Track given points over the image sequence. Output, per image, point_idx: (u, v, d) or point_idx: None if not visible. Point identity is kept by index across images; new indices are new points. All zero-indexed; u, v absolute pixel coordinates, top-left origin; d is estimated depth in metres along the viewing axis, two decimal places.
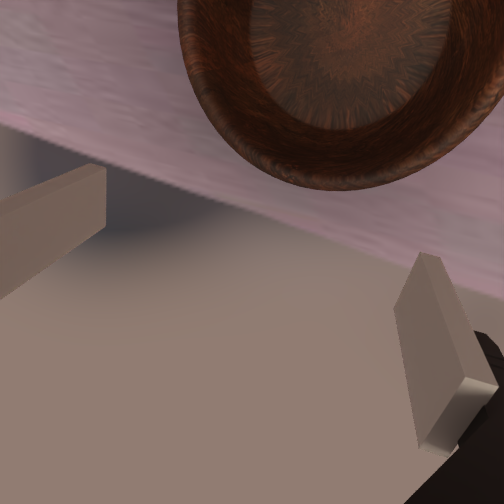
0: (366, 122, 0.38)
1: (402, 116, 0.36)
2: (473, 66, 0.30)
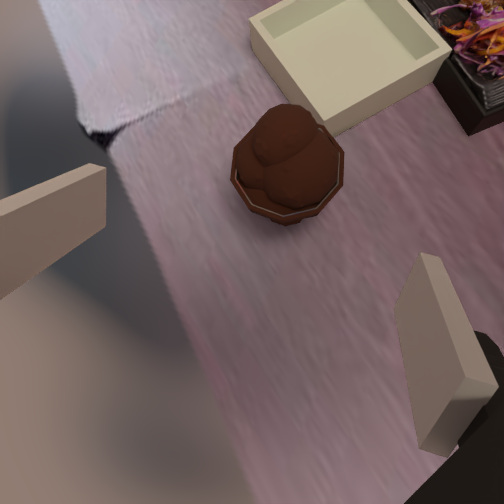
0: None
1: None
2: None
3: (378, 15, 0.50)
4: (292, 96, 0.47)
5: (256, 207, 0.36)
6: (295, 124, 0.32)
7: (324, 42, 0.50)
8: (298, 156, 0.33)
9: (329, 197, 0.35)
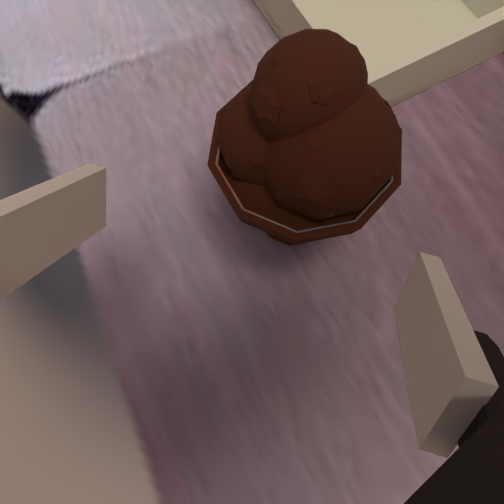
0: None
1: None
2: None
3: None
4: None
5: (250, 214, 0.21)
6: (335, 61, 0.17)
7: None
8: (335, 122, 0.17)
9: (378, 203, 0.20)
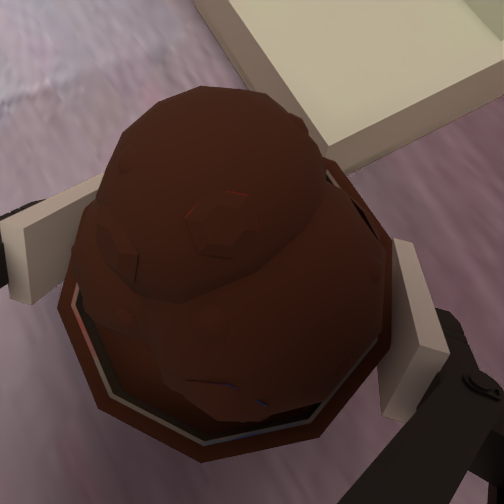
0: None
1: None
2: None
3: None
4: (263, 92, 0.24)
5: (123, 407, 0.11)
6: (245, 167, 0.08)
7: None
8: (252, 285, 0.08)
9: (350, 385, 0.11)
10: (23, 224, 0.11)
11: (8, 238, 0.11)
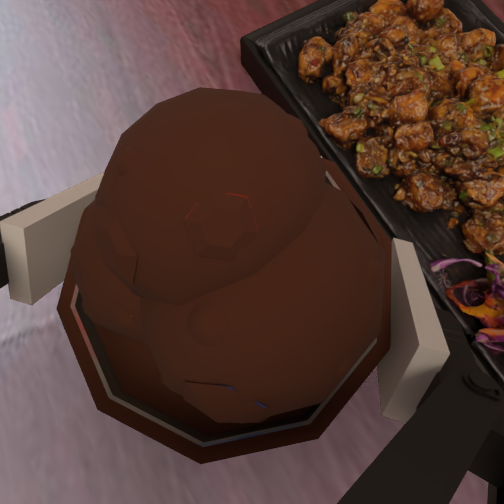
0: None
1: None
2: None
3: None
4: None
5: (122, 408, 0.11)
6: (243, 168, 0.08)
7: None
8: (251, 287, 0.08)
9: (350, 387, 0.11)
10: (23, 224, 0.11)
11: (8, 238, 0.11)
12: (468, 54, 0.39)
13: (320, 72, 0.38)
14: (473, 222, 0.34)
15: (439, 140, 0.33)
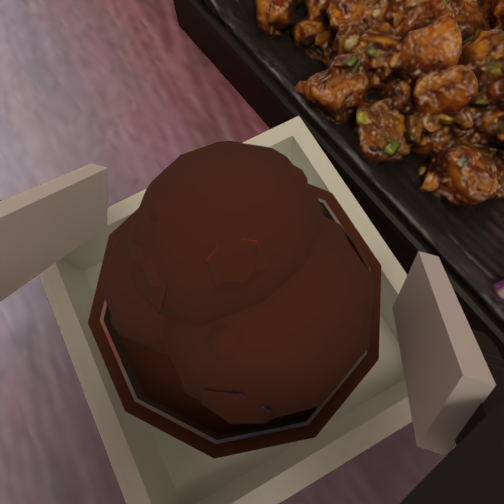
0: None
1: None
2: None
3: None
4: None
5: (146, 410, 0.13)
6: (254, 218, 0.10)
7: None
8: (259, 312, 0.10)
9: (343, 392, 0.13)
10: None
11: None
12: None
13: (289, 16, 0.26)
14: None
15: (487, 89, 0.21)
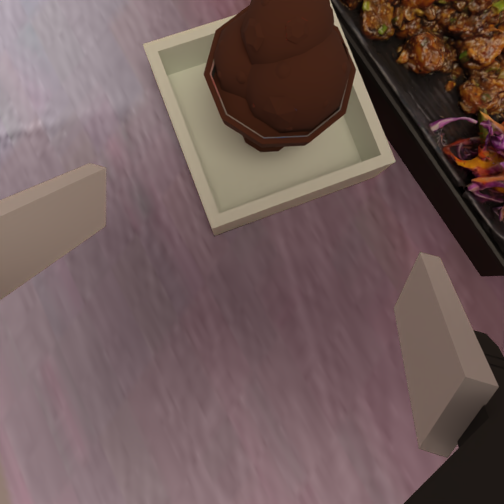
0: None
1: None
2: None
3: None
4: None
5: (231, 119, 0.27)
6: (307, 10, 0.23)
7: None
8: (301, 58, 0.24)
9: (326, 125, 0.28)
10: None
11: None
12: None
13: None
14: (470, 83, 0.36)
15: None
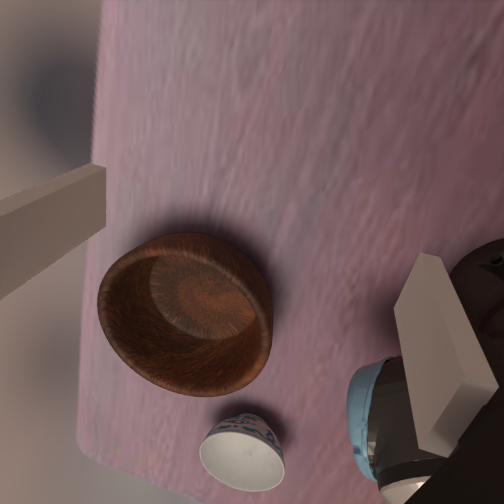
0: (157, 303, 0.63)
1: (160, 324, 0.63)
2: (178, 363, 0.61)
3: None
4: None
5: None
6: None
7: None
8: None
9: None
10: None
11: None
12: None
13: None
14: None
15: None
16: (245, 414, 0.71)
